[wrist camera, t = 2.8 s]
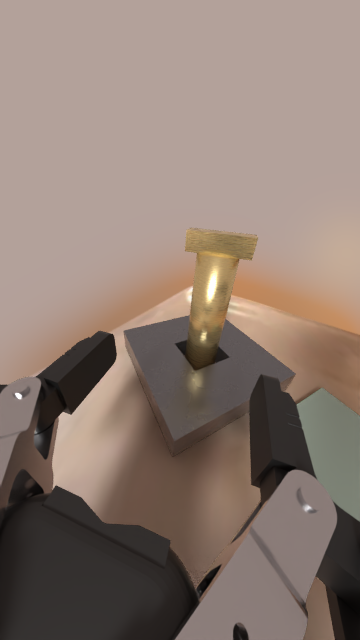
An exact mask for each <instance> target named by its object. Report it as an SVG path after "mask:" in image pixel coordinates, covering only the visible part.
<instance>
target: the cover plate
mask: <svg viewBox="0 0 360 640" xmlns="http://www.w3.org/2000/svg"><path fill="white" fill-rule="evenodd" d="M189 319H190V315H189V316H185V317H180V318H176V319H172V320H168V321H163V322H159V323H155V324H151V325H146V326H142V327H138V328H133V329H129V330H125V331H124V338H125V346H126V349H127V351H128V353H129V356H130V358H131V360H132V363H133V365H134V368H135V370H136V372H137V375H138V377H139V379H140V382H141V384H142V386H143V389H144V391H145V393H146V396H147V398H148V400H149V403H150V405H151V407H152V410H153V412H154V414H155V417H156V419H157V422H158V424H159V426H160V429H161V431H162V433H163V436H164V438H165V440H166V443H167V445H168V447H169V450H170V452H171V454H172V457H173V456H175V455H177V454H178V453H180V452H182V451H183V450H185V449H187V448H189V447H190V446H192V445H194V444H195V443H197V442H199V441H200V440H202V439H204V438H205V437H207V436H209V435H211V434H212V433H214V432H216V431H217V430H219V429H221V428H222V427H224V426H226V425H227V424H229V423H231V422H233V421H234V420H236V419H238V418H239V417H241V416H243V415H244V414H246V413H248V412H249V402H250V397H251V393H252V391H253V389H254V387H255V385H256V382H257V380H258V378H259V376H260V375H261V374H263V375H267V376H270V377H274V378H278V379H279V381H280V386H281V391H282V392H283V391H285V390H286V389H287V388H288V386H289V384H290V383H291V381H292V379H293V378H294V376H295V373H294V372H293V371H292V370H290V369H289V368H288V367H286V366H285V365H284V364H283V363H281V362H280V361H279V360H277V359H276V358H275V357H274V356H272V355H271V354H270V353H268V352H267V351H266V350H265V349H263V348H262V347H261V346H259V345H258V344H257V343H256V342H254V341H253V340H252V339H250V338H249V337H248V336H247V335H245V334H244V333H243V332H241V331H240V330H239V329H238V328H236V327H235V326H234V325H232V324H231V323H230V322H229V321H227V320H226V319H225V322H224V326H223V330H222V334H221V339H220V343H219V347H218V351H217V355H216V359H215V363H214V364H212V365H209V366H207V367H204V368H202V369H199V370H197V371H195V370H194V369H193V367H192V366H191V365H190V363H189V362H188V361H187V359H186V358H185V357H184V356H185V354H186V345H187V336H188V328H189Z"/></svg>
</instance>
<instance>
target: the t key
mask: <svg viewBox="0 0 360 640" xmlns="http://www.w3.org/2000/svg"><path fill="white" fill-rule="evenodd" d="M257 240H258V237H257V235H252V234H242V233H233V232H225V231H216V230H207V229H198V228H190V229H188V230H187V234H186V246H185V251H188V252H195V253H197V257H196V267H195V275H194V283H193V292H192V301H191V310H190V319H189V328H188V336H187V345H186V354H185V358H186V359H187V361H188V362H189V363H190V365H191V366H192V367H193V369H194V370H195V371H197V370H199V369H202V368H204V367H207V366H209V365H212V364H214V363H215V359H216V355H217V351H218V347H219V343H220V339H221V334H222V330H223V326H224V322H225V318H226V314H227V309H228V305H229V301H230V297H231V293H232V289H233V284H234V280H235V276H236V272H237V268H238V263H239V259H245V260H252V258H253V254H254V251H255V247H256V244H257Z"/></svg>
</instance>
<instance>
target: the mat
mask: <svg viewBox="0 0 360 640" xmlns="http://www.w3.org/2000/svg"><path fill="white" fill-rule="evenodd" d="M297 409H298V412H299V416H300V417H299V419H300V420H301V424H302V429H303V431H304V435H305V439H306V443H307V446H308V450H309V454H310V458H311V461H312V465H313V469H314V472H315V475H316V477H317V480H318V481H319V482H320V483H321V484H322V485H323V487H324V488H325V489H326V490H327V492H328V493H329V495H330V497H331V499H332V500H333V502H335V503H336V504H337V505H338V506H339V507H340V508H342V509H343V510H344V511H346V512H347V513H348V514H350V515H351V516H353V517H354V518H355V519H357V520H358V521H360V416H359V415H358V414H357V413H355V412H354V411H353V410H351V409H350V408H349V407H347V406H346V405H345V404H343V403H342V402H341V401H339V400H338V399H337V398H335V397H334V396H333V395H331V394H330V393H329V392H327V391H326V390H325V389H323V388H321V389H319V390H318V391H316V392H315V393H313V394H312V395H310V396H309V397H307V398H306V399H304V400H303V401H301V402H300V403H298V404H297Z"/></svg>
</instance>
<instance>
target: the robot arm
mask: <svg viewBox="0 0 360 640" xmlns="http://www.w3.org/2000/svg"><path fill="white" fill-rule="evenodd" d="M116 356H117V353H116V346H115V339H114V335H113V334H110V333H107V332H103V331H98V332H97V333H95V334H94V335H93V336H92V337H91V338H89V337H88V338H86V339H84V340H82V341H80V342H78V343H77V344H76V345H75V346H73V347H72V348H71V350H69V351H67V352H66V353H65V355H62V356H61V357H60V358H58V359H57V360H56V361H55V362H54V363H52V364H51V365H50V366H49V367H47V368H46V369H45V370H44V371H42V372H41V373H40V374H39V375H37V376H36V377H25V378H21V379H19V380H16V381H14V382H12V383H11V384H9V385H0V640H303V638H304V635H305V631H306V627H307V621H308V612H307V609H306V599H307V595H308V593H309V590H310V588H311V585H312V583H313V580H314V578H315V576H317V577H318V578H319V579H320V580H321V581H322V582H323V583H324V584H325V586H326V591H327V597H328V603H329V608H330V614H331V620H332V625H333V631H334V636H335V640H360V521H358V520H357V519H355V518H354V517H353V516H351V515H350V514H348V513H347V512H346V511H344V510H343V509H342V508H340V507H339V506H338V505H337V504H336V503H335V502H333V500H332V499H331V497H330V495H329V493H328V492H327V490H326V489H325V488H324V487H323V485H322V484H321V483H320V482H319V481H318V480H317V477H316V475H315V472H314V469H313V465H312V461H311V458H310V454H309V450H308V446H307V443H306V439H305V435H304V431H303V429H302V424H301V420H300V419H299V417H300V416H299V412H298V409H297V405H296V403H295V402H294V400H293V399H292V397H291V396H290V394H289V393H286V392H282V391H281V386H280V381H279V379H278V378H274V377H270V376H267V375H263V374H261V375H260V376H259V378H258V380H257V382H256V385H255V387H254V389H253V391H252V393H251V397H250V402H249V415H250V454H251V485H253V486H256V487H258V488H260V493H261V500H260V501H259V503H258V504H257V506H256V507H255V508H254V510H253V511H252V512H251V514H250V515H249V516H248V518H247V519H246V521H245V522H244V523H243V525H242V526H241V527H240V529H239V530H238V532H237V533H236V534H235V536H234V537H233V538H232V540H231V541H230V542H229V544H228V545H227V546H226V547H225V549H224V550H223V551H222V552H221V553H220V555H219V556H218V557H217V558H216V560H215V561H214V562H213V564H212V565H211V566H210V568H209V569H208V571H207V572H206V573H205V575H204V576H203V577H202V579H201V580H200V581H199V583H198V584H197V586H196V587H195V588H194V585H193V583H192V581H191V579H190V576H189V574H188V572H187V570H186V569H185V567H184V565H183V563H182V562H181V560H180V559H179V558H178V556H177V555H176V554H175V553H174V552H173V551H172V549H171V548H170V547H169V546H170V540H168V539H166V538H164V537H162V536H160V535H158V534H156V533H154V532H152V531H150V530H147V529H145V528H143V527H141V526H138V525H121V524H106V523H104V522H102V521H101V520H100V519H99V517H98V516H97V515H96V514H95V513H94V512H93V510H92V509H91V508H90V507H89V506H88V505H87V504H86V502H85V501H84V500H83V499H82V498H81V497H79V496H77V495H75V494H73V493H71V492H69V491H67V490H65V489H62V488H60V487H58V486H55V488H54V489H53V469H52V458H53V452H54V446H55V440H56V434H57V428H58V422H59V418H58V416H59V415H60V414H61V413H62V412H65V413H68V414H72V413H73V412H74V411H75V410H76V408H77V407H78V406H79V405H80V404H81V402H82V401H83V400H84V399H85V398H86V396H87V395H88V394H89V393H90V392H91V390H92V389H93V388H94V387H95V386H96V384H97V383H98V382H99V381H100V380H101V378H102V377H103V376H104V375H105V374H106V372H107V371H108V370H109V369H110V368H111V366H112V365H113V364H114V362H115V360H116ZM52 489H53V490H52Z"/></svg>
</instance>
